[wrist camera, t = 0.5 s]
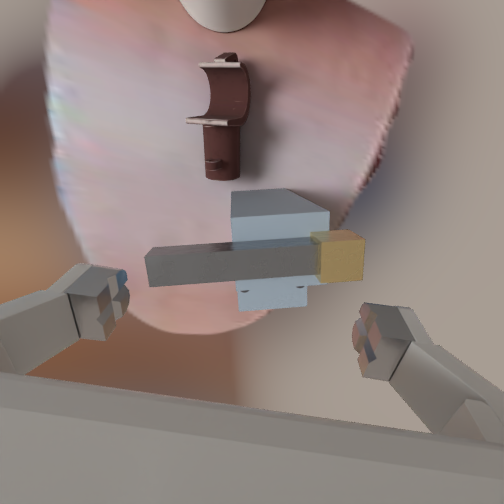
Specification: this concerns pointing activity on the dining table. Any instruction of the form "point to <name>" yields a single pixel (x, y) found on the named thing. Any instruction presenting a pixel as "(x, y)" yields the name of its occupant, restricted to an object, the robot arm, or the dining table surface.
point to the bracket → (224, 116)
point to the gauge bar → (260, 260)
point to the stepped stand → (274, 227)
